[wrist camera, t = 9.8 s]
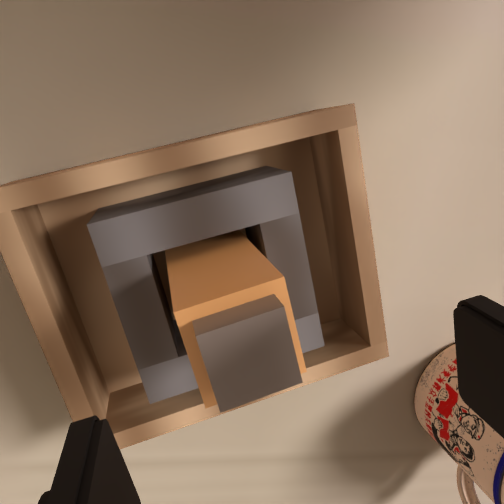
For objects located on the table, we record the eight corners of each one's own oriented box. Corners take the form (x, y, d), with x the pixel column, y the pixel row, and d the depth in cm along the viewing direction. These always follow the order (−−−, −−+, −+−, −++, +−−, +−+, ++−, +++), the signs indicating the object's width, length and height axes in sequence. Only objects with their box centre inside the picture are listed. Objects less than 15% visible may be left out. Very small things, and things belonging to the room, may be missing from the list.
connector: (231, 222, 24) (295, 287, 14) (248, 285, 25) (318, 389, 15) (163, 242, 24) (175, 327, 13) (184, 306, 25) (210, 429, 14)
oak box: (315, 110, 25) (359, 102, 19) (349, 320, 29) (393, 360, 24) (12, 181, 22) (-30, 194, 17) (100, 402, 26) (88, 467, 21)
